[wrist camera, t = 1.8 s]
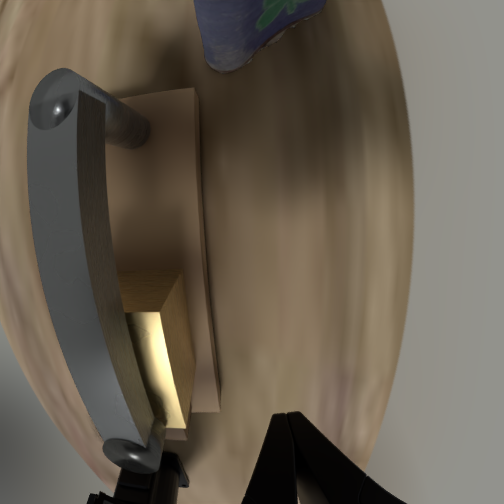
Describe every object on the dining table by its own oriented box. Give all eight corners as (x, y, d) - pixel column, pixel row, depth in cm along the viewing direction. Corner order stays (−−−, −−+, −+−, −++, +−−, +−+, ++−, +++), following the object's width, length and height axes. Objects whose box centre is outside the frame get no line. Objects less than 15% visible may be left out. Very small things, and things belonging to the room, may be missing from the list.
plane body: (220, 393, 19) (219, 445, 14) (141, 391, 18) (123, 439, 14) (198, 98, 14) (184, 65, 9) (100, 113, 14) (55, 94, 9)
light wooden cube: (196, 366, 16) (186, 428, 11) (133, 364, 16) (107, 421, 11) (182, 268, 14) (159, 312, 9) (111, 271, 14) (65, 310, 9)
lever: (184, 379, 16) (165, 476, 9) (146, 378, 15) (114, 469, 9) (156, 110, 12) (89, 56, 5) (111, 118, 12) (23, 81, 5)
